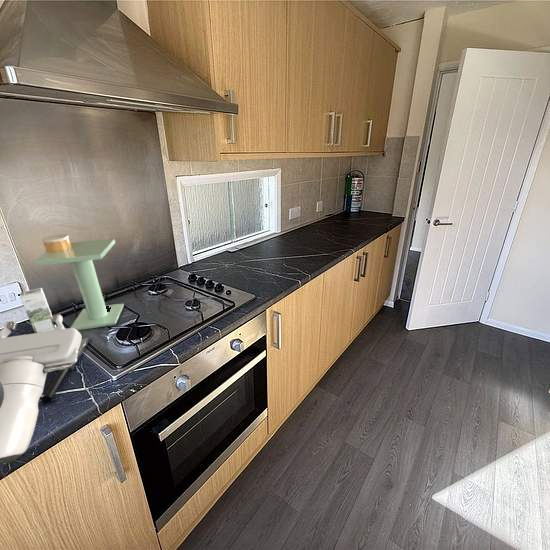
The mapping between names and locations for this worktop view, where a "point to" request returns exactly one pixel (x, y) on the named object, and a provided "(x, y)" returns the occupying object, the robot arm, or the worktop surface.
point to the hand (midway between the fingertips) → (35, 319)
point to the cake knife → (62, 375)
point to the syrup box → (37, 310)
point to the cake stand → (83, 277)
